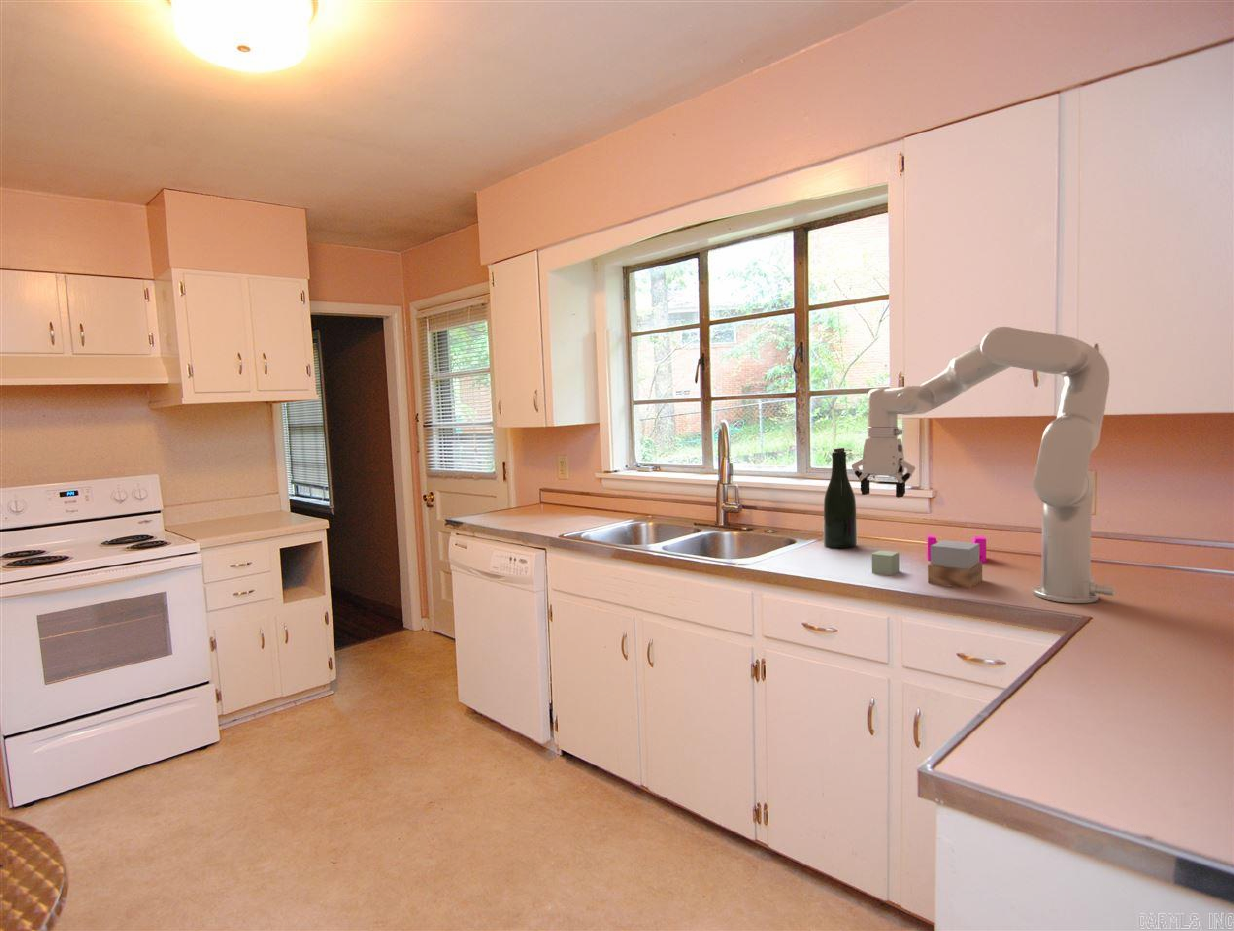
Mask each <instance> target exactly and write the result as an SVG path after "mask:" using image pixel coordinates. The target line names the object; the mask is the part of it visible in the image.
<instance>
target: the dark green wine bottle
mask: <svg viewBox="0 0 1234 931" xmlns="http://www.w3.org/2000/svg"><path fill="white" fill-rule="evenodd" d="M831 458H832V466H831V467H832V468H831V476H830V477H831V478H830V481H829V483H828V485H827V489H826V492H825V494H824V502H823V503H824V504H823V546H824V547H825V548H829V549H833V550H849V549H851V550H852V549H854V548H857V547H858V521H857V520H858V519H857V515H858V514H857V501H856V499H857V498H856V496H855V491H854V490H853V487H852V485H851V483H850V480H849V477H848V471H847V470H848V469H847V452H846V451H845V448H844V447H834V448H833V451H832V453H831Z"/></svg>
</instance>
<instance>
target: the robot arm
mask: <svg viewBox="0 0 1234 931" xmlns="http://www.w3.org/2000/svg"><path fill="white" fill-rule="evenodd" d="M1011 367H1012V368H1017V369H1023V370H1029V371H1034V372H1035V371H1036V372H1039V373H1044V374H1045V373H1046V374H1050V375H1051V374H1052V375H1061V376H1062V377H1063V381H1064V382H1063V388H1062V391H1061V395H1060V400H1059V407H1058V412H1057V416H1056V419H1054V420H1052V421H1050V423H1049V424H1048V425H1047V426H1046V427H1045V429H1044V431H1043V433H1042V436H1041V439H1040V445H1039V450H1038V455H1037V460H1036V465H1035V469H1034V474H1033V482H1032V486H1033V487H1032V488H1033V492H1034V494H1035V496H1036V497H1037V499H1039V501H1040V502H1042V512H1041V558H1040V559H1041V565H1040V566H1041V572H1040V573H1041V574H1040V575H1041V576H1040V577H1041V579H1040V581H1041V582H1040V583H1041V584H1040V585H1037V586H1035V587H1034V588H1033V594H1034V595H1035V596H1036V597H1038V598H1041V599H1044V600H1047V601H1053V602H1059V603H1065V604H1066V603H1067V604H1068V603H1069V604H1089V603H1090V604H1091V603H1095V602H1097V601H1098V600H1099V595H1104V596H1110V597H1111V596H1112V597H1114V594H1115V588H1114V586H1110V585H1107V584H1098V583H1097V582H1095V578H1094V577H1091V561H1092V560H1091V557H1092V556H1091V554H1092V552H1091V551H1092V550H1091V549H1092V516H1093V515H1092V514H1093V502H1094V500H1093V499H1094V491H1095V487H1094V485H1095V484H1094V479H1093V476H1092V474H1091V472H1090V470H1089V463H1090V460H1091V455H1092V451H1094V450H1095V449H1096V448H1097V446H1098V444H1099V443H1100V442H1101V441H1100V439H1101V432H1102V426H1103V422H1104V416H1105V410H1106V403H1107V397H1108V393H1109V385H1110V370H1109V369H1110V368H1109V366H1108V364H1107V361H1106V359H1105V357H1104V356H1103V355H1102V353H1100V352H1099V350H1097V349H1096V348H1095V347H1093V346H1092V345H1090V344H1089V343H1087V342H1084V341H1083V340H1081V339H1078V338H1075V337H1071V336H1067V335H1063V334H1056V333H1048V332H1042V331H1040V332H1039V331H1033V330H1026V329H1020V328H1015V327H1009V326H999V327H996V328H994V329H992V330H990V331H988V332H987V333H986V334H985V335H984V336H983V338H982V340H981V342H980V343H978V344H976V345H975V346H973V347H971V348H969V349H967V350H965V351H964V352H962V353H960V354H959V355H956V356H955V357H953V358H952V359H951V360H950V361H949V363H948V365H947V368H945V369H944V370H943V371H942V372H941V373H939V374H938V375H937V376H934V377H933V378H932V379H930V380H928V381H926V382H923V383H922V384H920V385H911V386H910V385H909V386H908V385H907V386H906V385H905V386H902V387H896V388H890V387H889V388H888V387H887V388H886V387H885V388H884V387H882V388H873V389H870V390H869V391H868V392H867V393H868V394H867V438H865V442H864V445H863V453H862V459H860V460H858V461H857V462H854V463H853V464H851V467H852V470H853V472H854V475H855V476H856V477H857V478H858V481H860V491H861V495H862V496H867V495H870V480H869V478H870V476H871V475H873V476H875V475H877V476H893V477H894V478H895V479H896V480H897V481H896V486H895V493H896V494H895V496H896V498H898V499H899V498H902V497H904V495H905V494H906V493H905V492H906V483H907V481H908V480H909V479H911V477H912V476H913V474H914V472H915V470H916V466H915V465H913V464H911V463H909V462H907V461H906V460H905V455H904V449H903V444H902V438H898V437H899V435H903V429H899V426H898V419H899V418H898V415H902V416H903V415H905V416H910V415H911V416H912V415H913V416H914V415H923V414H926V413H928V412H931V411H933V410H935V409H936V408H938V407H941V406H942V405H945V404H947V403H948V402H950V401H952V400H953V399H955V398H957V397H958V396H960V395H962V394H964V393H965V392H967V391H968V390H970V389H971V388H973V387H974V386H976V385H978V384H981V383H982V382H984V381H986V380H987V379H989V378H991V377H993V376H996V375H997V374H999V373H1001V372H1003V371H1005V370H1007V369H1009V368H1011ZM860 467H862V470H860ZM905 469H906V472H905ZM904 472H905V473H904Z"/></svg>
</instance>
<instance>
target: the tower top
mask: <svg viewBox="0 0 1234 931" xmlns="http://www.w3.org/2000/svg"><path fill="white" fill-rule="evenodd" d="M978 563H979V544H978V543H972V542H968V541H965V542H964V541H955V540H954V541H953V540H945V539H942V540H940V541H937V543H936V544H933V545H931V561H930V564H931V565H936V566H944V567H953V568H961V569H970V568H972V567H974V566H975V565H977V564H978Z"/></svg>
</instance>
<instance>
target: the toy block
mask: <svg viewBox="0 0 1234 931" xmlns="http://www.w3.org/2000/svg"><path fill="white" fill-rule="evenodd" d="M926 540H927V541H926V554H927V556H926V557H927V561H929V562H931V545H933V544H936V543H938V541H937V537H936V535H935V534H934V535H933V534H931V535H930V534H927V535H926ZM971 543H978V544H979V562H981V563H987V538H986V537H985V536H980V535H977V536H976V535H975V536H973V539H972V541H971Z"/></svg>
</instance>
